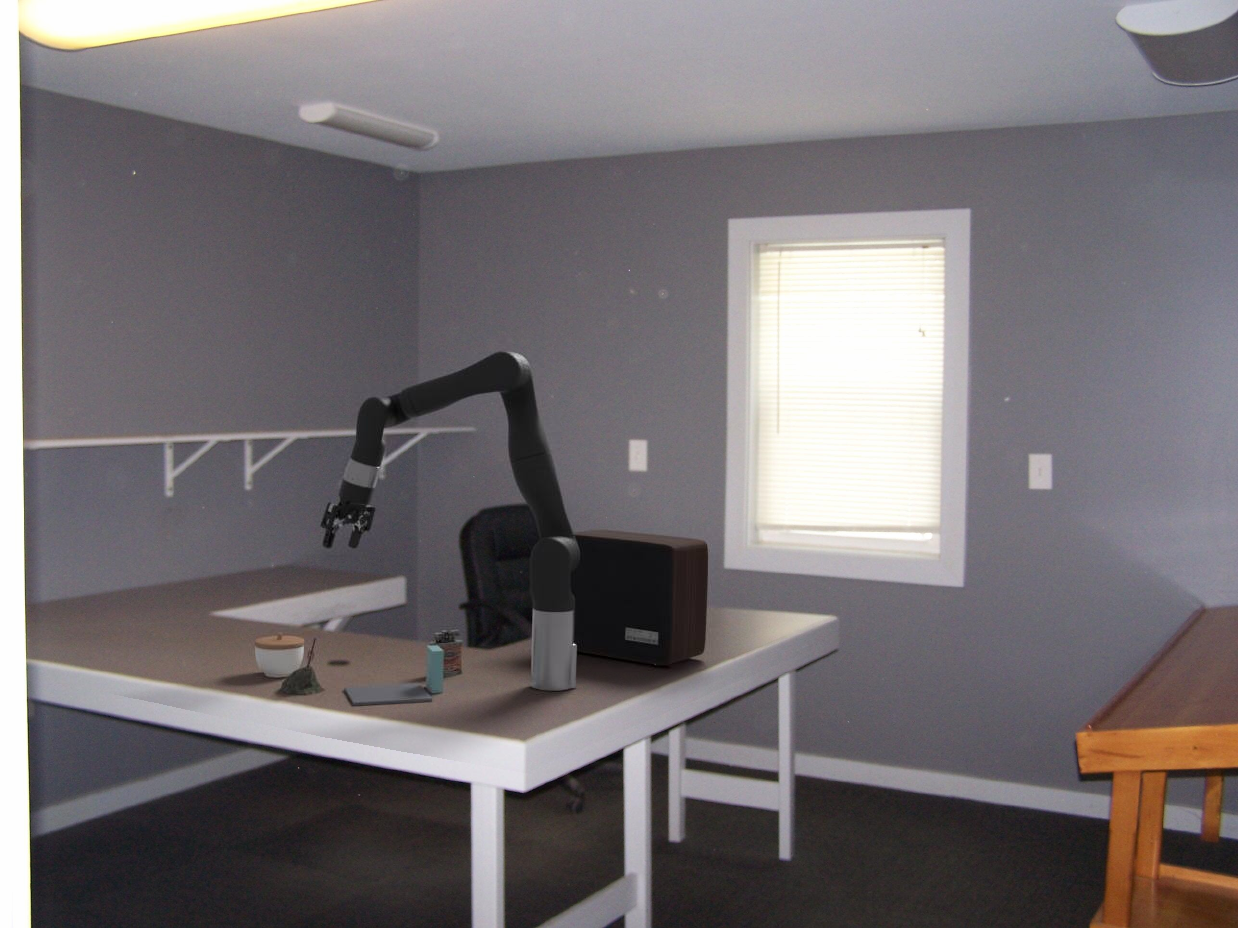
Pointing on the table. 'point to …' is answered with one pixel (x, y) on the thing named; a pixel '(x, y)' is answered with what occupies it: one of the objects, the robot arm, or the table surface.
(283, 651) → the lidded jar
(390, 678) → the table surface
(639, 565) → the radio
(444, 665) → the lighter
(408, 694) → the mat
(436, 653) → the tile
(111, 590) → the table surface
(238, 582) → the table surface
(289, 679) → the sword in stone
